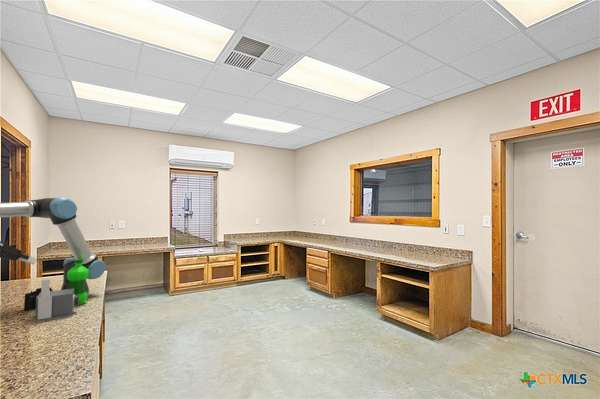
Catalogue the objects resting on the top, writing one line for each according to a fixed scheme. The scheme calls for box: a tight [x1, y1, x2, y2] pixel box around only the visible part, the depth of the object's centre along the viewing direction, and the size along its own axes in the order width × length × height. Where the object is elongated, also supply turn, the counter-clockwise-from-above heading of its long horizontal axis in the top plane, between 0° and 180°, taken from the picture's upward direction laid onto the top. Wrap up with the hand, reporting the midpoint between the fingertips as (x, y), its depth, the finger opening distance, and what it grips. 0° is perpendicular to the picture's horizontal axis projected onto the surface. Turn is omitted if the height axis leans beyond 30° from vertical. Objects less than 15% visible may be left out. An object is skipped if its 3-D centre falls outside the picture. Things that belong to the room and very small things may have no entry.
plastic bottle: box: [67, 259, 89, 306], centre depth 173 cm, size 10×10×25 cm
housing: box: [35, 289, 80, 323], centre depth 155 cm, size 13×16×11 cm
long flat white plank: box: [38, 278, 52, 320], centre depth 147 cm, size 1×5×18 cm, turn 123°
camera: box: [23, 287, 54, 312], centre depth 167 cm, size 14×11×10 cm
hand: (35, 261), depth 150 cm, fingers closed
